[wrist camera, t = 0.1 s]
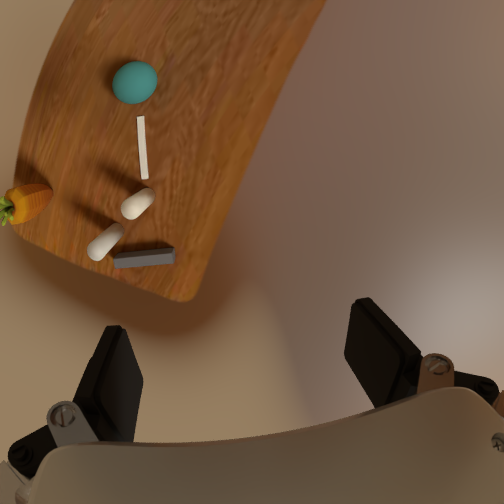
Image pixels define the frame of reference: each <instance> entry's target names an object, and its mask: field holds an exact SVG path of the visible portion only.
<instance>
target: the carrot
mask: <svg viewBox="0 0 504 504" xmlns="http://www.w3.org/2000/svg"><path fill="white" fill-rule="evenodd" d="M52 196H53V190H52V189H51V188H49V187H48V186H47V185H45V184H40V183H33V184H27V185H23V186H19V187H16V188H12V189H9V190H8V191H7V192H6V194H5V196H4V197H3V196H2V197H0V209H3V210H2V211H0V219H1V218H2V217H3V216H4V218H3V220H2V222H1V223H2V225H3V226H4V225H5V223H6V221H7V220H8V221H9V222H10V223H11V224H12V225H14V224H19V223H24V222H26V221H28V220H30V219H31V218H33V217H35V216H36V215H38V214H39V213H40V212H41V211H42V210H44V208H45V207H46V206H47V205H48V203H49V202H50V200H51V198H52Z"/></svg>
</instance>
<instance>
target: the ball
mask: <svg viewBox="0 0 504 504" xmlns="http://www.w3.org/2000/svg"><path fill="white" fill-rule="evenodd" d="M156 85H157V75H156V72H155V70H154V69H153V67H152V66H150V65H149V64H147V63H145V62H141V61H134V62H130V63H127V64H125V65H124V66H122V67H121V68H120V69H119V70H118V71H117V73H116V74H115V76H114V79H113V84H112V87H113V92H114V94H115V96H116V97H117V98H118V99H119V100H120V101H122V102H124V103H128V104H136V103H140V102H143V101H145V100H146V99H147V98H149V97H150V96H151V95H152V93H153V92H154V90H155V88H156Z"/></svg>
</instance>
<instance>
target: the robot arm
mask: <svg viewBox="0 0 504 504" xmlns="http://www.w3.org/2000/svg"><path fill="white" fill-rule="evenodd" d="M344 356H345V359H346V361H347V362H348V364H349V366H350V368H351V369H352V371H353V372H354V374H355V375H356V377H357V379H358V380H359V382H360V384H361V386H362V387H363V389H364V390H365V392H366V394H367V395H368V397H369V399H370V400H371V402H372V404H373V405H374V407H375V409H372V410H369V411H366V412H362V413H360V414H356V415H352V416H349V417H346V418H342V419H338V420H334V421H331V422H327V423H323V424H319V425H314V426H310V427H305V428H301V429H296V430H291V431H286V432H281V433H275V434H268V435H262V436H255V437H247V438H239V439H229V440H218V441H205V442H186V443H185V442H183V443H139V442H133V440H134V433H135V427H136V421H137V414H138V409H139V403H140V398H141V393H142V388H143V377H142V374H141V371H140V369H139V366H138V363H137V360H136V358H135V355H134V352H133V349H132V346H131V343H130V341H129V338H128V335H127V332H126V330H125V329H122V327H121V326H120V325H115V326H107V327H106V328H105V330H104V332H103V334H102V336H101V338H100V341H99V343H98V345H97V347H96V349H95V352H94V354H93V356H92V357H91V359H90V360H89V362H88V364H87V367H86V369H85V371H84V374H83V377H82V379H81V381H80V384H79V386H78V388H77V391H76V393H75V396H74V398H73V401H72V402H71V401H61V402H58V403H56V404H55V405H53V406H52V407H51V408H50V409H49V411H48V413H47V418H46V419H47V423H48V424H47V425H45V426H44V427H42V428H40V429H38V430H36V431H35V432H33V433H31V434H29V435H27V436H25V437H24V438H22V439H20V440H18V441H16V442H15V443H13V444H12V446H11V447H10V449H9V451H8V460H9V461H8V462H7V463H6V462H5V461H3V462H2V463H1V464H0V504H504V390H502V392H501V393H500V392H499V389H498V386H497V384H496V383H495V382H494V381H493V380H491V379H489V378H486V377H482V376H477V375H472V374H468V373H463V372H458V371H454V365H453V363H452V361H451V360H450V359H449V358H448V357H446V356H444V355H442V354H436V353H432V354H428V355H426V356H425V357H423V356H422V355H421V351H420V350H419V349H418V348H417V347H416V346H415V344H413V342H412V341H411V340H410V339H409V338H408V337H407V336H406V335H405V334H404V333H403V332H402V331H401V329H400V328H398V326H397V325H396V324H395V323H394V322H393V321H392V320H391V319H390V318H389V317H388V316H387V315H386V314H385V313H384V312H383V311H382V310H381V309H380V308H379V307H378V306H377V305H376V304H375V303H374V302H373V300H372V299H371V298H369V297H367V298H361V299H357V300H356V301H355V303H353V304H352V306H351V312H350V319H349V326H348V332H347V338H346V344H345V350H344Z"/></svg>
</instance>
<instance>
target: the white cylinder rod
mask: <svg viewBox="0 0 504 504" xmlns="http://www.w3.org/2000/svg"><path fill="white" fill-rule="evenodd" d="M123 234H124V228H123V226H122V225H121V224H119V223H113V224H112V225H111V226H109V227H108V228H107V229H106V230H105V231H104V232H102V233H101V234H100V235H99V236H98V237H97V238H96V239H94V240H93V241H92V242H91V243H90V244H89V245H88V247H87V253H88V255H89V257H90V258H91V259H93V260H95V261H99V260H101V259H102V258H103V257H104V256H105V255H106V254H107V253H108V251H109V250H110V249H111V248H112V247H113V246H114V245H115V244H116V242H117V241H118V240H119V239H120V238H121V237H122V236H123Z"/></svg>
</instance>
